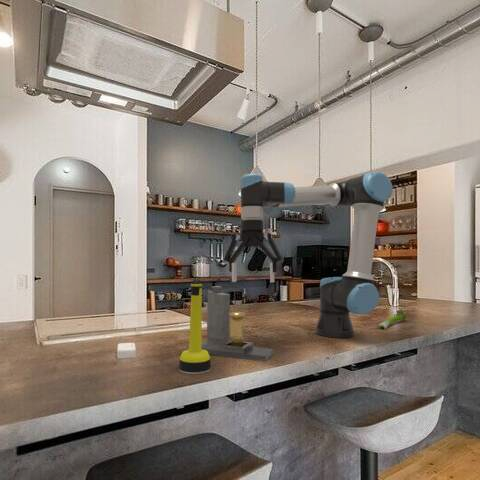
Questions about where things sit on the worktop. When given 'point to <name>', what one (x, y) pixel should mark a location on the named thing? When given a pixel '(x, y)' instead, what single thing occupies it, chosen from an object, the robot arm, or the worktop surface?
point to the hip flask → (218, 314)
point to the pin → (237, 328)
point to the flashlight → (195, 337)
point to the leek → (393, 319)
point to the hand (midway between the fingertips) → (253, 282)
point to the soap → (126, 350)
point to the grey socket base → (236, 349)
